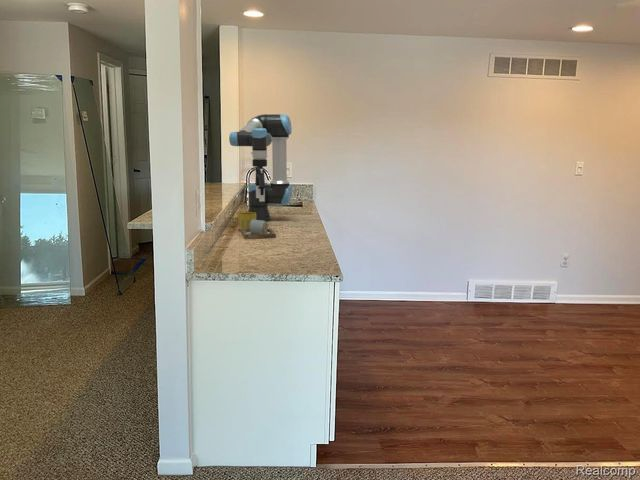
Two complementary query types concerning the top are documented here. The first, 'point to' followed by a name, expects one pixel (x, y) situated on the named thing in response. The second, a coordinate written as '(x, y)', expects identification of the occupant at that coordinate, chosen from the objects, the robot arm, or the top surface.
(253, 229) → the ceramic mug
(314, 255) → the top surface
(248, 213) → the plant pot
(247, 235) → the coaster tray
